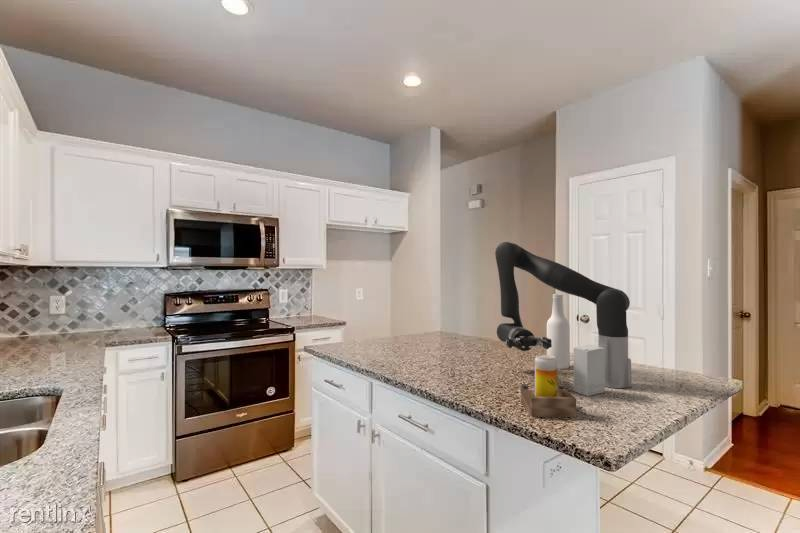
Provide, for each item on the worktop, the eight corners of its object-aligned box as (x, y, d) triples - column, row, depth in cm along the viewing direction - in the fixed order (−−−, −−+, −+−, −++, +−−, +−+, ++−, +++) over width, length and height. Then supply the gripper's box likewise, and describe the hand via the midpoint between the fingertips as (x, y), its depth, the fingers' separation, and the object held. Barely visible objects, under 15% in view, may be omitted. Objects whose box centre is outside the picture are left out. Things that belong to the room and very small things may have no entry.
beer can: (558, 412, 115) (558, 359, 115) (536, 411, 116) (536, 358, 116) (555, 405, 121) (555, 354, 121) (533, 404, 122) (533, 354, 122)
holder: (561, 403, 123) (561, 383, 123) (576, 417, 112) (576, 395, 112) (520, 402, 124) (520, 383, 124) (531, 416, 112) (531, 395, 112)
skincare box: (590, 388, 139) (590, 344, 139) (606, 393, 133) (605, 347, 133) (572, 391, 135) (572, 346, 135) (588, 396, 130) (587, 349, 130)
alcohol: (567, 364, 173) (566, 293, 173) (571, 370, 164) (571, 294, 164) (545, 364, 174) (544, 293, 174) (548, 369, 166) (548, 294, 166)
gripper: (500, 328, 148) (511, 334, 132) (540, 327, 148) (556, 334, 131) (501, 349, 148) (512, 358, 132) (541, 348, 147) (557, 357, 131)
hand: (534, 346), depth 131 cm, fingers open, 8 cm apart
